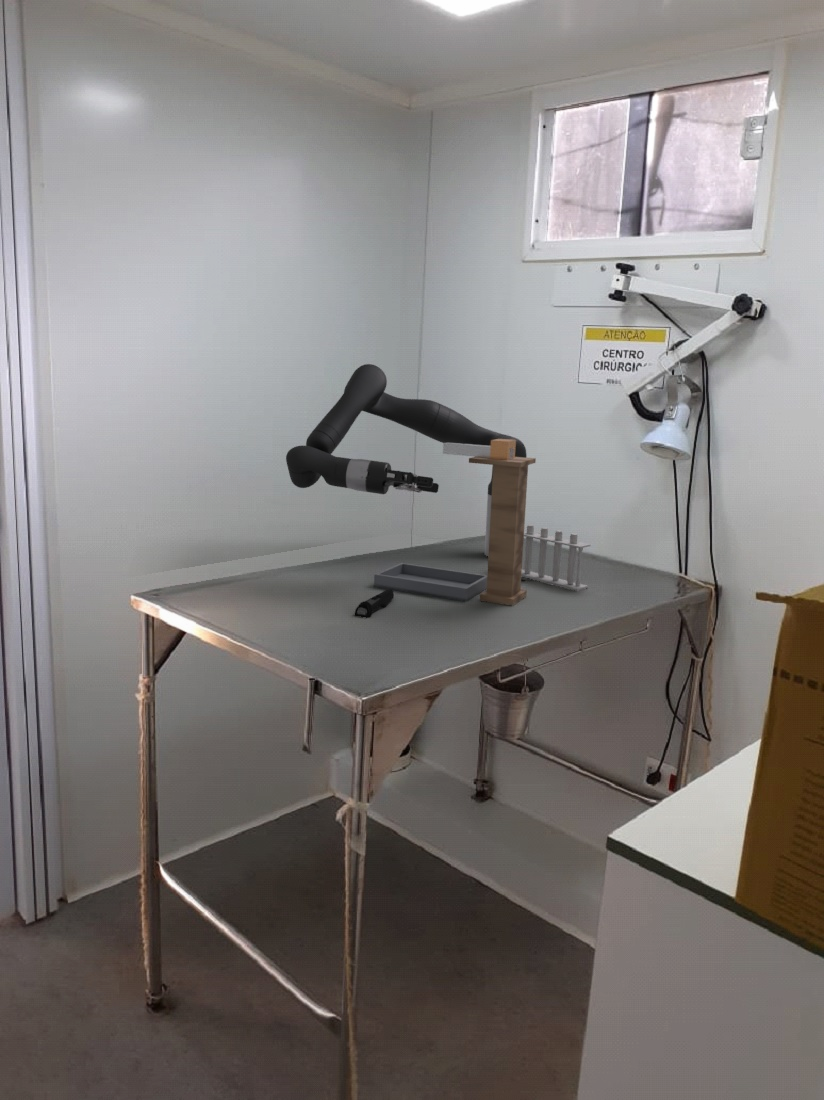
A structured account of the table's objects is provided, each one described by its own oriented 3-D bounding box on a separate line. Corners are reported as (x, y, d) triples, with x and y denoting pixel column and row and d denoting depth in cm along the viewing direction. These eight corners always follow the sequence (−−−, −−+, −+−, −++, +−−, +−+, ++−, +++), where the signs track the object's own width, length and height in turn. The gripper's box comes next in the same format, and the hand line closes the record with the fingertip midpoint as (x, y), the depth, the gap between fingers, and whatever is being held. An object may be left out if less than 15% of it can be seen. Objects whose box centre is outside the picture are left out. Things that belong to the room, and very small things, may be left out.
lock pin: (449, 452, 200) (450, 435, 199) (514, 457, 193) (515, 439, 192) (440, 454, 195) (441, 436, 194) (507, 459, 188) (508, 441, 188)
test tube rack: (587, 588, 209) (592, 535, 206) (577, 591, 206) (581, 537, 203) (508, 568, 227) (511, 519, 224) (497, 571, 224) (500, 521, 221)
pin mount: (478, 588, 205) (485, 454, 198) (527, 596, 200) (535, 458, 193) (462, 598, 197) (468, 458, 190) (512, 606, 191) (520, 462, 184)
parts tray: (401, 574, 216) (401, 562, 216) (488, 587, 206) (489, 575, 206) (374, 586, 204) (374, 574, 204) (466, 601, 194) (466, 588, 193)
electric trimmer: (398, 602, 194) (398, 588, 193) (369, 619, 180) (369, 605, 179) (382, 600, 195) (383, 586, 194) (352, 617, 181) (353, 602, 180)
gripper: (372, 495, 211) (437, 505, 208) (358, 487, 197) (428, 497, 194) (377, 465, 211) (442, 474, 208) (364, 454, 197) (433, 464, 194)
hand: (435, 485), depth 201 cm, fingers open, 8 cm apart
